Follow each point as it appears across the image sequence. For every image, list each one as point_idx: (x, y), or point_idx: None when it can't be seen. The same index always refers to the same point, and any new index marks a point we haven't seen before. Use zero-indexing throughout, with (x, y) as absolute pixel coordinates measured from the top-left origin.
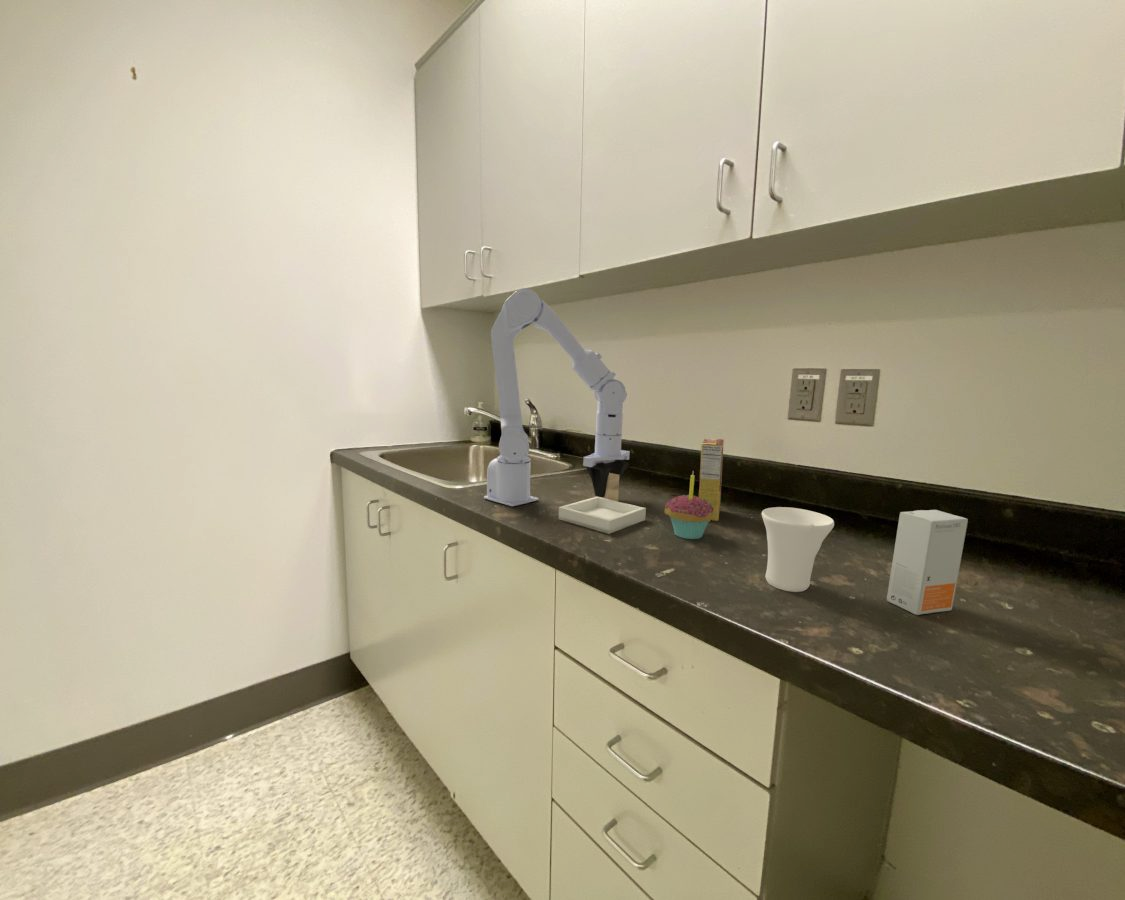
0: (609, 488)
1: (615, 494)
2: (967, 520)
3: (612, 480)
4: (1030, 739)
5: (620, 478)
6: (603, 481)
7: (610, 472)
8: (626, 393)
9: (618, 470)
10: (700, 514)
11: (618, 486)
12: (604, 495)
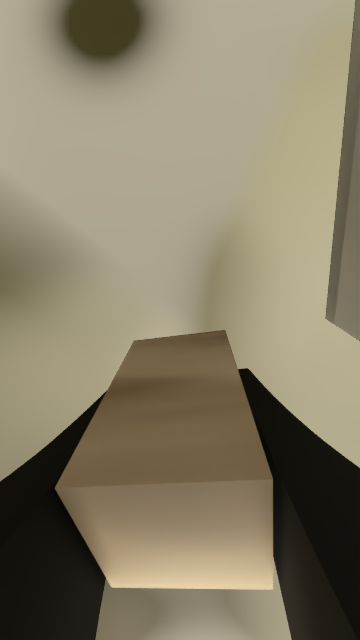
0: (225, 383)
1: (153, 358)
2: None
3: (188, 437)
4: None
5: (48, 451)
6: (329, 446)
7: (87, 563)
8: None
9: (22, 564)
10: None
11: (111, 391)
12: None
